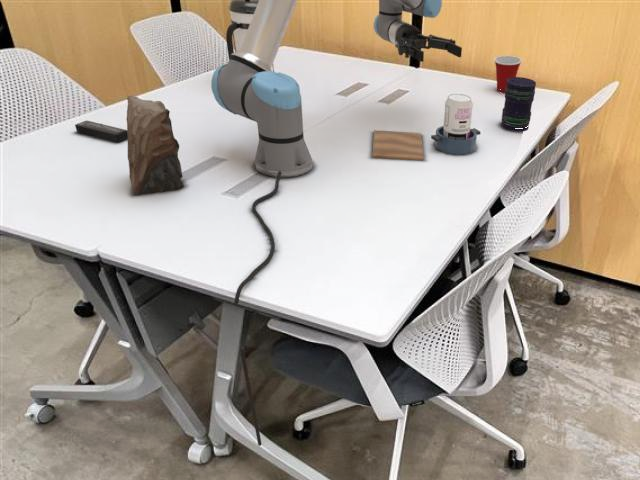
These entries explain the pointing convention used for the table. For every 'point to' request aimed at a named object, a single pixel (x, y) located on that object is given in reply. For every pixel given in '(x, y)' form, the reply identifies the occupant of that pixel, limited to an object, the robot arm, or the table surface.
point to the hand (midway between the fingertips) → (441, 54)
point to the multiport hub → (102, 131)
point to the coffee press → (240, 23)
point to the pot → (455, 142)
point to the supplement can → (457, 116)
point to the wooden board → (397, 145)
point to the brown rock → (151, 148)
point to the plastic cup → (506, 70)
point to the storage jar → (518, 103)
